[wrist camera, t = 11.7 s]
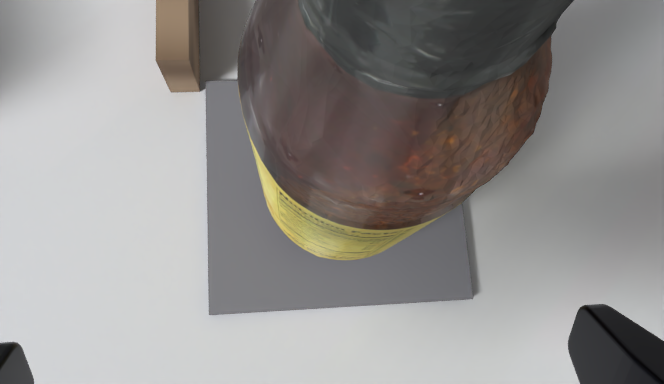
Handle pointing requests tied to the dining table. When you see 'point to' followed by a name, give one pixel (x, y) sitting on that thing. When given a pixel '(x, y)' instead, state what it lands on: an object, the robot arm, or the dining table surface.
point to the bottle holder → (178, 44)
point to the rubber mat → (290, 259)
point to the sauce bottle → (387, 109)
